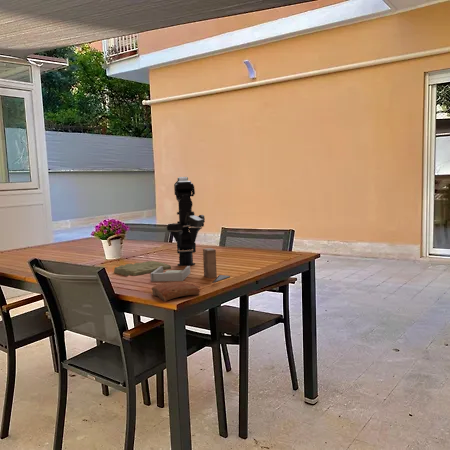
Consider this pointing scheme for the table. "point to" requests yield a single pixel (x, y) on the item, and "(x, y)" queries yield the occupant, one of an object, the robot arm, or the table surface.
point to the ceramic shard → (174, 290)
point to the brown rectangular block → (209, 262)
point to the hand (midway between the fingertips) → (186, 244)
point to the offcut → (173, 271)
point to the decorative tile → (140, 268)
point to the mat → (220, 278)
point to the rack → (169, 275)
